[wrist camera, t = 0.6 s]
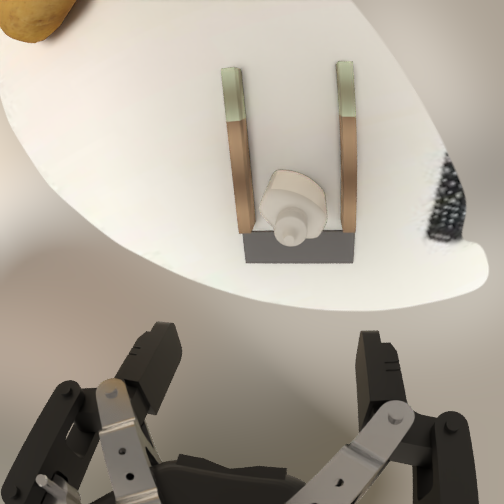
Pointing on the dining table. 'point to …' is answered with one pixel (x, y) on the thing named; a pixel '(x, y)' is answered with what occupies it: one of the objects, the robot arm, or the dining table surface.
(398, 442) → the robot arm
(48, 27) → the potato
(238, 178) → the walnut channel
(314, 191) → the eye dropper bottle
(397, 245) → the dining table surface
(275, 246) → the plate
